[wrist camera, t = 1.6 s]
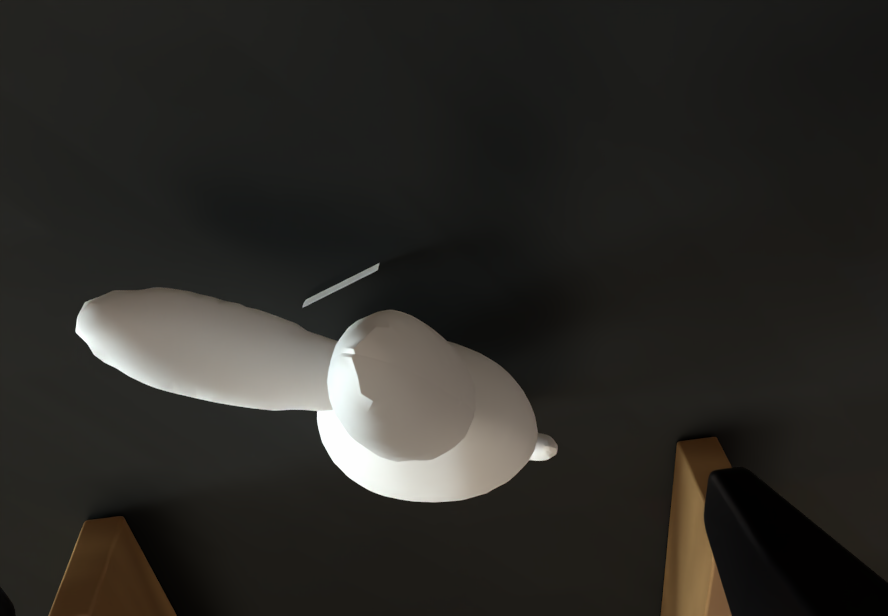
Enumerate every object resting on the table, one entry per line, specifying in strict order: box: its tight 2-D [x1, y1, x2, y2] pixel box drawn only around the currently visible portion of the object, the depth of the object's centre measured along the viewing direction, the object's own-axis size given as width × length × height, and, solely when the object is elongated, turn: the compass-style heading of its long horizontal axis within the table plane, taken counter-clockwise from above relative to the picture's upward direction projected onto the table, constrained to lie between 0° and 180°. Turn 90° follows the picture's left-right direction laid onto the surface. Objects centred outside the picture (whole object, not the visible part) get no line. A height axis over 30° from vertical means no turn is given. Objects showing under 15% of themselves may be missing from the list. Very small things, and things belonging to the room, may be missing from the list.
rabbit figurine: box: [76, 263, 558, 502], centre depth 13 cm, size 6×4×8 cm
